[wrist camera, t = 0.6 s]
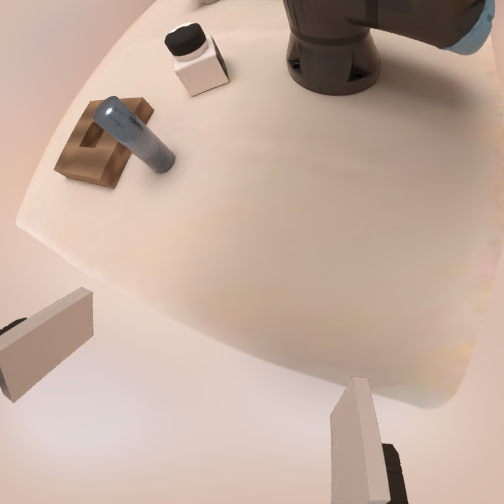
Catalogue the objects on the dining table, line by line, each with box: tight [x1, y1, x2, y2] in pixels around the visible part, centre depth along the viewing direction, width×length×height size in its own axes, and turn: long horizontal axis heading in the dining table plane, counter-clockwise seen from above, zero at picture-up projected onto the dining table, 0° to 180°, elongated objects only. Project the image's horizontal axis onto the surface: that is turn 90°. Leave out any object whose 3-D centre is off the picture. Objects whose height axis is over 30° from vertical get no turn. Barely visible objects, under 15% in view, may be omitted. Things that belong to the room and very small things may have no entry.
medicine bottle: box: [165, 23, 229, 96], centre depth 40 cm, size 7×7×12 cm
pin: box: [93, 96, 175, 173], centre depth 36 cm, size 4×4×15 cm
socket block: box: [54, 98, 154, 188], centre depth 47 cm, size 16×16×4 cm
